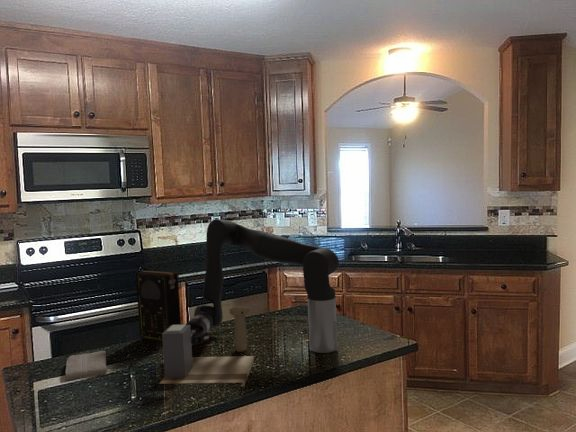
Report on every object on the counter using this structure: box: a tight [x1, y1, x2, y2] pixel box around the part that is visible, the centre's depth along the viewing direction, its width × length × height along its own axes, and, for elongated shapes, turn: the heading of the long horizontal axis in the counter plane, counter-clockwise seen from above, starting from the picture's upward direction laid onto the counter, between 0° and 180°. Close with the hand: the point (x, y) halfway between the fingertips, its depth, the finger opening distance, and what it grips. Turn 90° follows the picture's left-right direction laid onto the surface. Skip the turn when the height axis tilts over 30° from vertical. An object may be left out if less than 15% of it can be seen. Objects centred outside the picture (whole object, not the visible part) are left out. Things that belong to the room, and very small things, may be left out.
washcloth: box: [65, 350, 108, 381], centre depth 155 cm, size 12×18×3 cm, turn 22°
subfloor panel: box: [158, 355, 255, 387], centre depth 146 cm, size 24×20×1 cm
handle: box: [229, 306, 250, 353], centre depth 161 cm, size 5×6×15 cm
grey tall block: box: [162, 324, 193, 378], centre depth 144 cm, size 6×8×14 cm
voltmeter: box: [135, 270, 182, 343], centre depth 180 cm, size 16×9×25 cm, turn 60°
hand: (181, 346), depth 148 cm, fingers closed
